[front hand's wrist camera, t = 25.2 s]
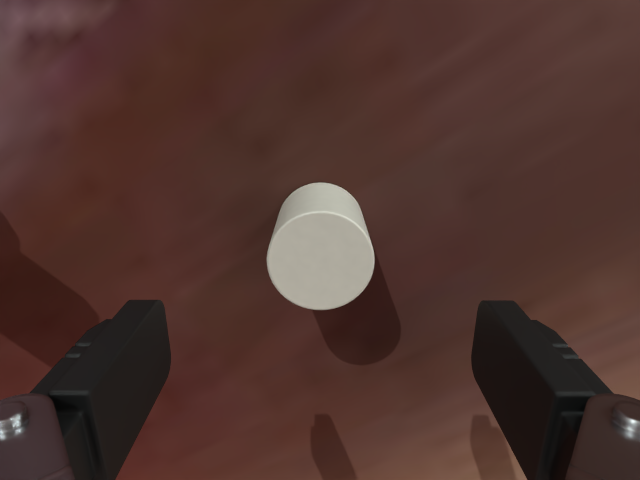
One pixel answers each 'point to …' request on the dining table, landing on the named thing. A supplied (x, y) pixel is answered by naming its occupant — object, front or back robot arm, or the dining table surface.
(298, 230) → the can
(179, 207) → the dining table surface
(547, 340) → the front robot arm
